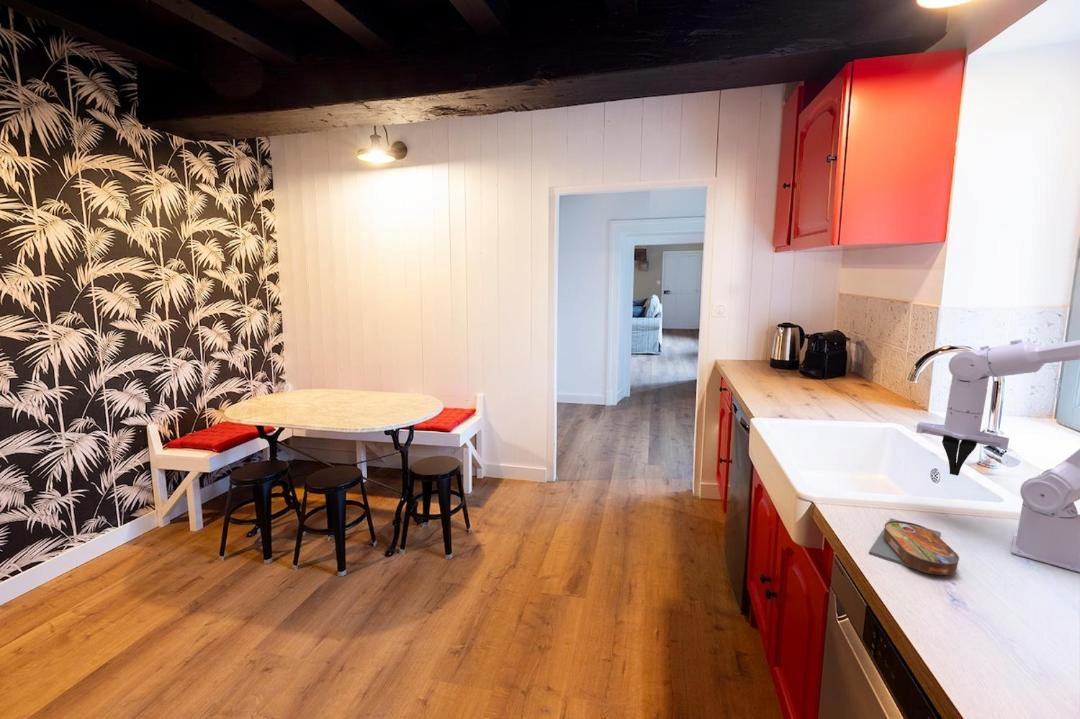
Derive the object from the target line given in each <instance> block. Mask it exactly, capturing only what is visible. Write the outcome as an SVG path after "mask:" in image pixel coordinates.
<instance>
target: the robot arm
mask: <svg viewBox="0 0 1080 719" xmlns="http://www.w3.org/2000/svg"><path fill="white" fill-rule="evenodd" d="M1078 360H1080V339H1078V340H1072V341H1067V342H1066V341H1065V342H1061V343H1054V344H1050V345H1045V346H1041V345H1038V344H1036V343H1034V342H1032V341H1028V340H1027V341H1023V340H1022V339H1014V340H1010V341H1009V344H1005V345H1004V344H1003V345H998V346H996V345H995V346H991V347H989V345H984V346H983V345H982V346H980V347H979V349H973V350H964V351H962V352H959V353H956V354H955V355H953V356H952V357H951V358H950V360H949V362H948V370H949V373H951V375H952V378H951V382H950V383H951V384H950V386H949V395H948V401H947V408H946V413H945V418H944V420H945V421H944V424H937V423H929V422H923V421H922V422H921V421H919V422H918V423H917V425H916V431H915V432H916V434H917V433H918V434H926V435H927V434H928V435H932V436H938V437H942V441H941V443H942V446H943V448H944V451H945V454H946V456H947V459H948V466H949V475H953V476H959V475H960V472H961V468H962V467H963V465H964V463H965V461H966V460H967V459H968V457H969V456H970V455H971V454H972V452H973V451H974V450H976V447H977V444H978V445H979V444H980V445H985V446H990V447H996V448H999V449H1000V450H1006V451H1007V450H1008V446H1009V440H1010V437H1006V436H1005V437H1004V436H1001V435H997V434H991V433H988V432H984V431H981V429H982V428H981V427H982V424H983V423H982V421H983V419H984V418H983V416H984V410H985V404H986V399H987V394H988V386H989V379H990V377H993V378H998V377H999V378H1000V377H1007V376H1015V375H1022V374H1032V373H1038V372H1039V371H1040V370H1041V368H1042V367H1043V366H1044V365H1045V364H1049V363H1050V364H1052V363H1060V362H1061V363H1062V362H1068V361H1069V362H1070V361H1078ZM1019 493H1020V497H1021V498H1022V504H1021V509H1020V515H1019V522H1018V527H1017V528H1018V529H1017V534H1016V536H1015V535H1014V536H1013V540H1012V547H1011V554H1014V555H1017V556H1019V557H1020V556H1021V557H1024V558H1028V559H1031V560H1034V561H1038V562H1042V563H1046V564H1049V565H1052V566H1056V567H1060V568H1063V569H1067V570H1071V571H1075V572H1078V573H1080V514H1079V512H1078V509H1077V507H1076V505H1075V502H1077V501H1079V500H1080V448H1079V449H1078V450H1076V451H1075V452H1074V453H1072V454H1071V455H1069V457H1067V458H1066V459H1065V460H1063V461H1061V463H1059V464H1057V465H1056V466H1055V467H1053V468H1049V469H1046V470H1045V471H1042V473H1041V474H1039V475H1037V476H1035V477H1034V476H1033V477H1030V478H1028V479H1027V480H1025V481H1024V482H1022V484H1021V487H1020V492H1019Z"/></svg>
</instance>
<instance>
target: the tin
mask: <svg viewBox="0 0 1080 719" xmlns="http://www.w3.org/2000/svg"><path fill="white" fill-rule="evenodd" d="M884 528H885V531H884V538H885V540H886V542H887V543H888V544H889V545H890V546H891V547H892V549H893V550H894V551H895V552H896V553H897V554H898V555H899V557H900V558H901V559H902V560H903V561H904V562H905V563H906V564H907V565H909V566H911V567H912V569H915V570H917V571H919V572H923V573H925V574H934V575H940V576H952V575H954V574H955V573H957V569H958V564H959V561H960V556H959V554H958V553H957V552H956V551H954V550H953V549H952V548H951V546H949V545H948V544H947V543H946V542H945V541H944V540H943V539H942V538H941V536H940V537H938V536H937V535H936V534H935V533H934V532H933V531H931V530H932V529H931V530H929V529H930V528H928V527H926V526H923V525H920V524H917V523H913V522H909V521H904V520H899V521H890V522H888V521H887V522H886V523H885V524H884ZM911 567H910V568H911Z"/></svg>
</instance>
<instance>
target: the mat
mask: <svg viewBox="0 0 1080 719" xmlns="http://www.w3.org/2000/svg"><path fill="white" fill-rule="evenodd" d="M890 521H900V520H899V519H895V518H892V517H891V518H889V520H888V521H887V522H890ZM928 529H929V530H931V531H933V532H934V533H935V534H936V535H937V536H938V537H940V538H941V535H942V532H941V531H940V530H939V531H938V530H934V529H931V528H928ZM884 531H885V527H883V530H881V532H880V534H879V535H878V537H877V538H876V539H875V541H874V543H873V544H872V546H871V548H870V549H869V551H868V555H871V556H875V557H878V558H880V559H883V560H884V559H885V560H886V561H887V560H888V561H890V562H893V563H897V564H899V565H902V566H905V567H908V568H912V567H911V566H909V565H907V564H906V563H905V562H904V561H903V560H902V559H901V558H900V557H899V555H898V554H897V553H896V552H895V551H894V550H893V549H892V547H891V546H890V545H889V544H888V543H887V542H886V540H885V538H884ZM912 569H913V568H912Z"/></svg>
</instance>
